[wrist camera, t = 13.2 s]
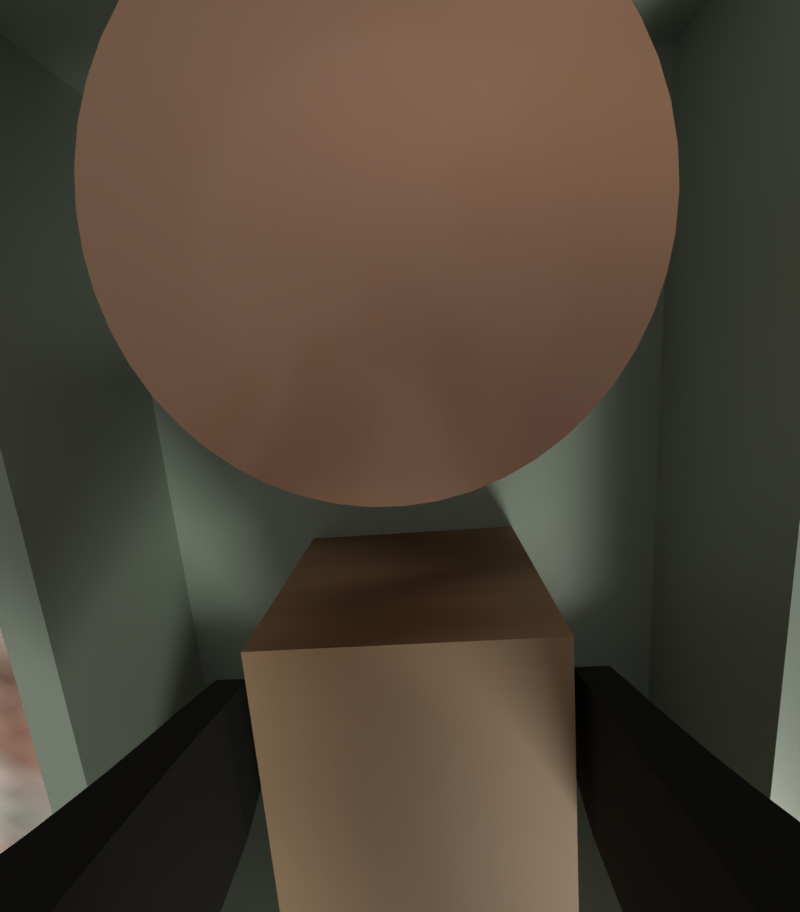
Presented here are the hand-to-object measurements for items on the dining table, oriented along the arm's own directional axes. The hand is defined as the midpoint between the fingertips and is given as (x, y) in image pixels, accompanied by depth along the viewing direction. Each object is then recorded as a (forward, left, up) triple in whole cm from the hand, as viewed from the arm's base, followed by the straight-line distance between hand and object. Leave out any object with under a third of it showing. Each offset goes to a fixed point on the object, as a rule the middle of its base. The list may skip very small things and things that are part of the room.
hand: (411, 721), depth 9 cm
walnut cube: (0, +1, -4) cm, 4 cm away
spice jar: (0, -8, -4) cm, 8 cm away
